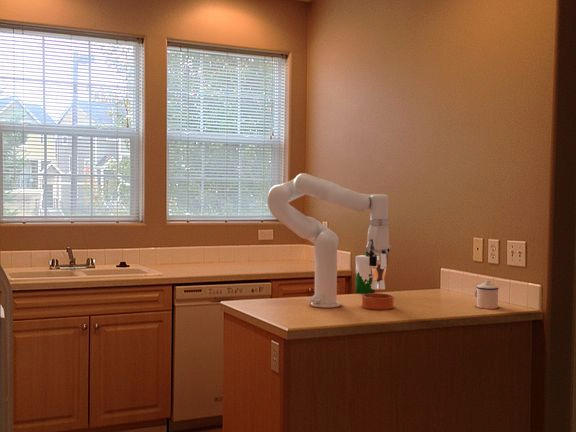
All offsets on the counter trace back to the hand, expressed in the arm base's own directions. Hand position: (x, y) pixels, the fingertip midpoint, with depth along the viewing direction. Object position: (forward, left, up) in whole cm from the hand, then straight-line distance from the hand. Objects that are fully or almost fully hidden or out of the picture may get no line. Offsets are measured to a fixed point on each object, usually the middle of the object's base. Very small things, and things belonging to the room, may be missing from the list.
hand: (378, 265), depth 278 cm
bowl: (0, 0, -18) cm, 18 cm away
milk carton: (+27, +28, -18) cm, 43 cm away
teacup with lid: (+36, -30, -18) cm, 50 cm away
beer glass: (0, 0, -10) cm, 10 cm away
